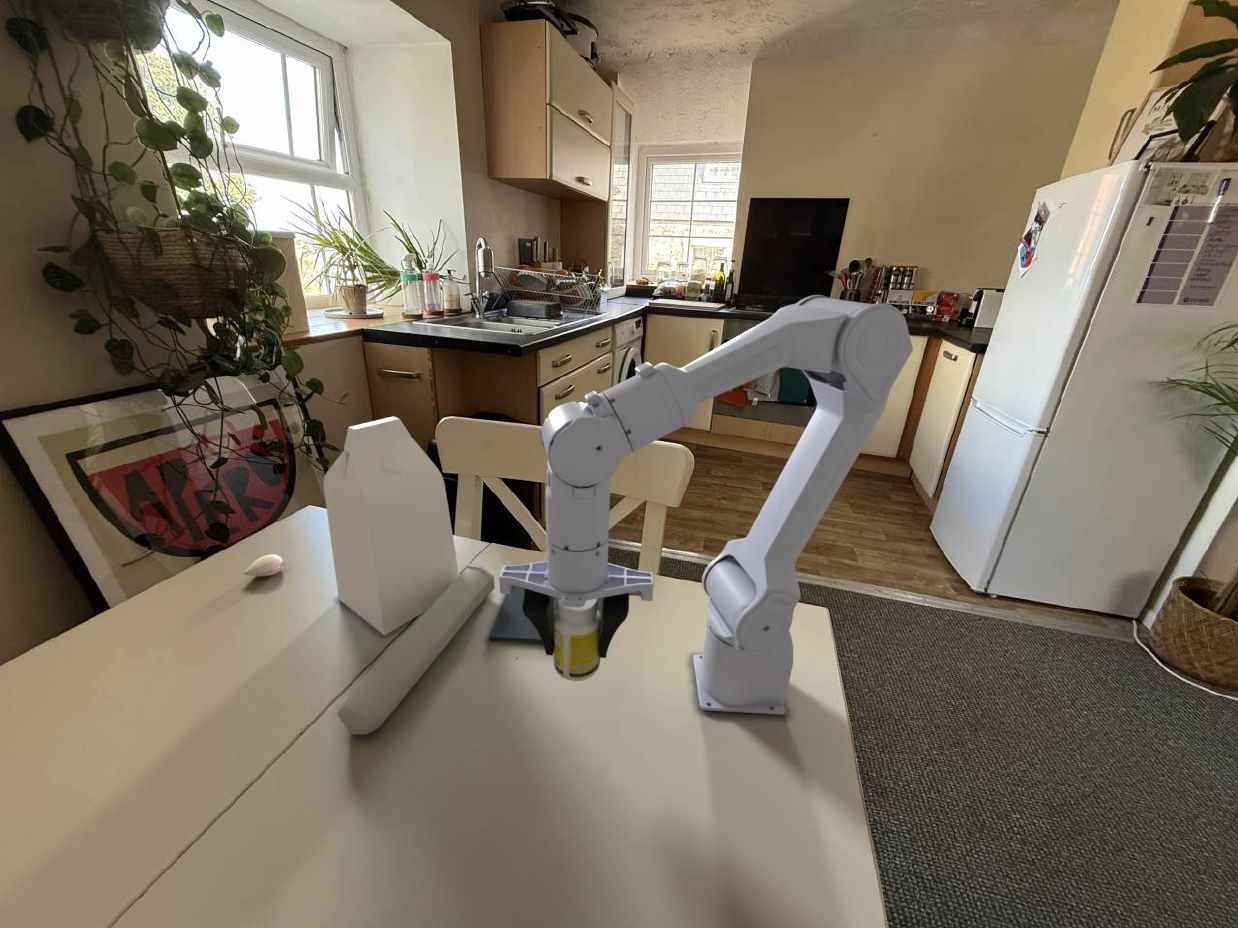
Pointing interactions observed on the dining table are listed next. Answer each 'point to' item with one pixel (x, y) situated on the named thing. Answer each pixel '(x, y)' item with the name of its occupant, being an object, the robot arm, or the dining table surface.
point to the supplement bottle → (577, 640)
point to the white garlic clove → (265, 566)
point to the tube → (414, 653)
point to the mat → (518, 620)
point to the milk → (388, 525)
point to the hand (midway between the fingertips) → (576, 649)
